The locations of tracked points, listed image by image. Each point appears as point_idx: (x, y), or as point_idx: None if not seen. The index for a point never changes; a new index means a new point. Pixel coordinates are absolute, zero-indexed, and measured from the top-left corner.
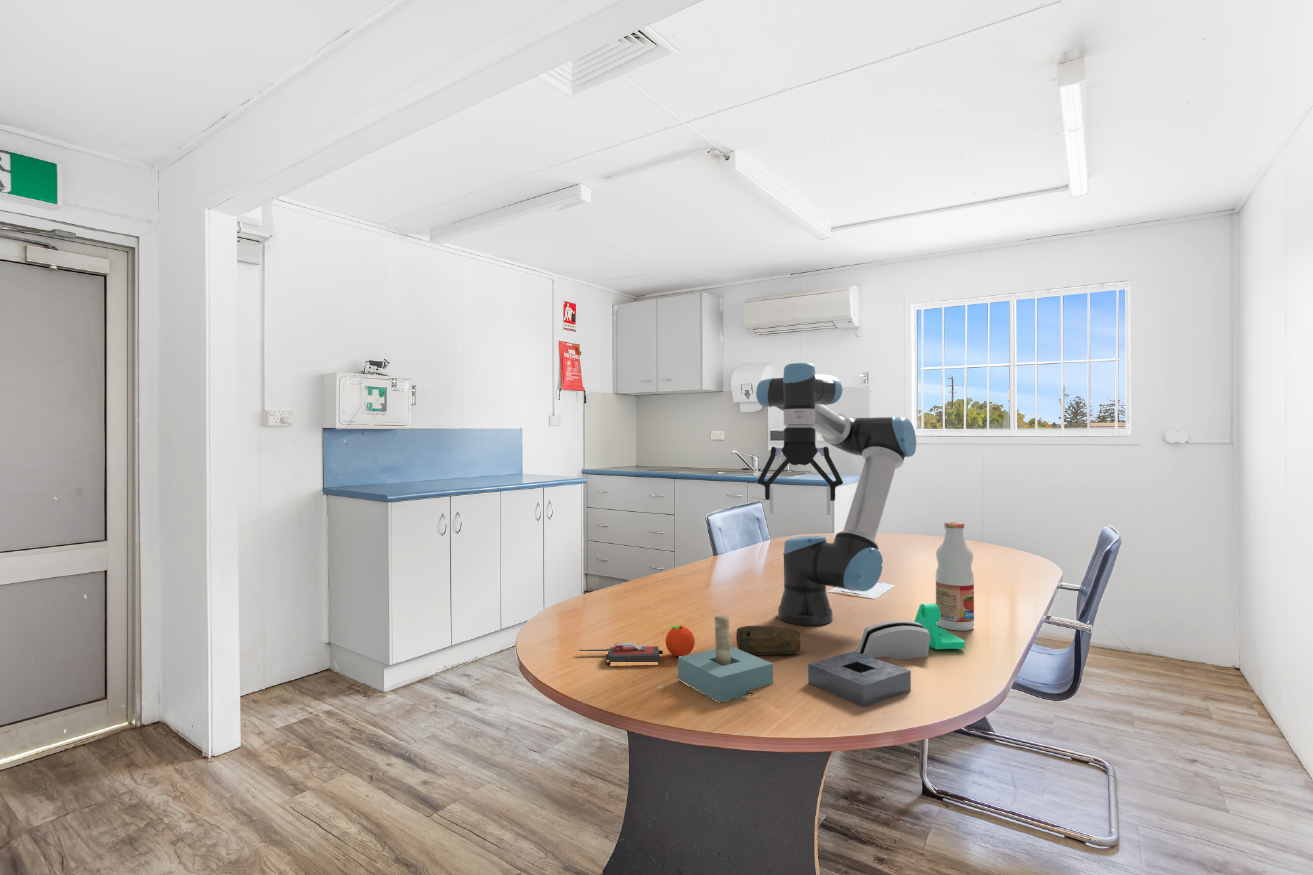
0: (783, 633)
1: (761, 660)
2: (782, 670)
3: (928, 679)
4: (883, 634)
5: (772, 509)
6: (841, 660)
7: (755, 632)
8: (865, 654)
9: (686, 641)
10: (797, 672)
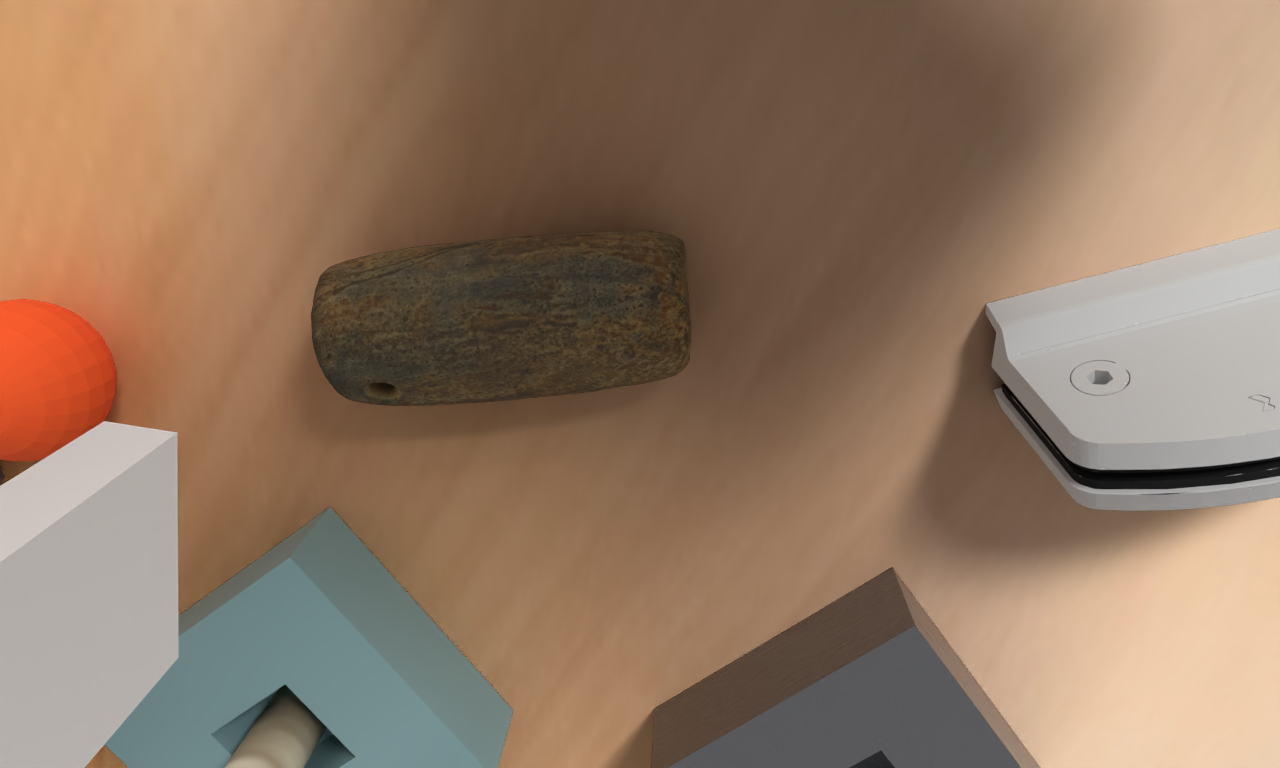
0: (588, 371)
1: (446, 744)
2: (571, 529)
3: (1207, 613)
4: (1152, 507)
5: (115, 722)
6: (811, 741)
7: (421, 387)
8: (1017, 425)
9: None
10: (637, 550)
